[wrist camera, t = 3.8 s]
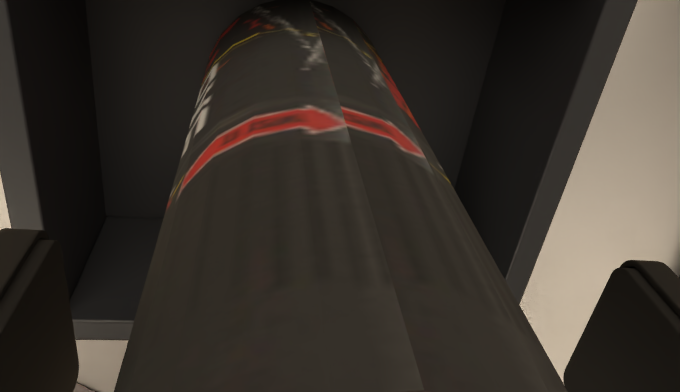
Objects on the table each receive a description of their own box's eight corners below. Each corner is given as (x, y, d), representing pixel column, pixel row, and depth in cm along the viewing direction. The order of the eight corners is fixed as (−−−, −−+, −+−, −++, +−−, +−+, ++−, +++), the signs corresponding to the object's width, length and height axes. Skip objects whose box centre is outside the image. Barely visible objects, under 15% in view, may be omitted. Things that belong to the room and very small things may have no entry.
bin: (88, 224, 21) (33, 340, 16) (43, -166, 15) (-71, -177, 10) (453, 240, 24) (504, 345, 19) (547, -90, 17) (665, -67, 12)
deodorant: (212, -18, 17) (39, 377, 4) (400, 14, 18) (725, 401, 5) (200, 156, 20) (79, 701, 7) (362, 174, 21) (513, 671, 8)
